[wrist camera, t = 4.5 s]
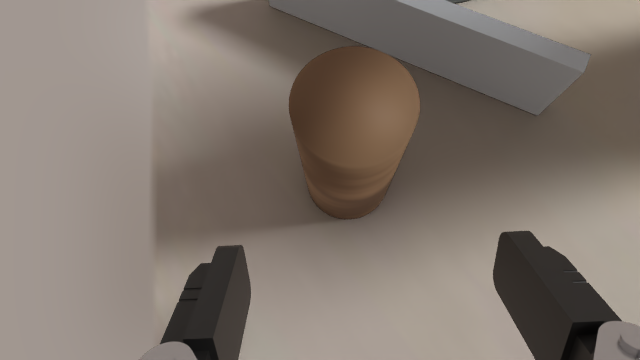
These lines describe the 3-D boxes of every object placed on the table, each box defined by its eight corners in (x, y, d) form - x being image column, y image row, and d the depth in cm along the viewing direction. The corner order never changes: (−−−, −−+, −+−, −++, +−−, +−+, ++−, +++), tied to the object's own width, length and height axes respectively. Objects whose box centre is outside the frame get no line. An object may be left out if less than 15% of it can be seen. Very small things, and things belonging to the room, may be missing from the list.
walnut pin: (400, 163, 25) (440, 75, 15) (366, 233, 23) (386, 186, 14) (329, 130, 26) (325, 28, 16) (293, 196, 24) (265, 128, 15)
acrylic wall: (543, 100, 26) (590, 54, 21) (537, 115, 25) (584, 72, 20) (277, -7, 29) (266, -67, 24) (269, 5, 29) (256, -54, 24)
